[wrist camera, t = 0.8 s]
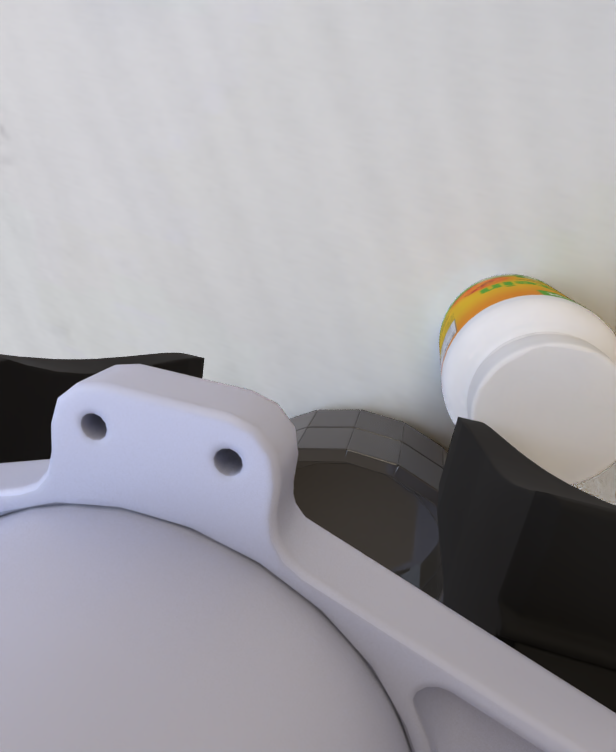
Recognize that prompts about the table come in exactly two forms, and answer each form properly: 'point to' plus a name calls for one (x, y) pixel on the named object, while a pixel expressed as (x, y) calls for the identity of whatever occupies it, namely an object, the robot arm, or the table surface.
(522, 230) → the table surface
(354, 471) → the bowl
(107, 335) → the table surface
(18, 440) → the robot arm
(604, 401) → the supplement bottle
